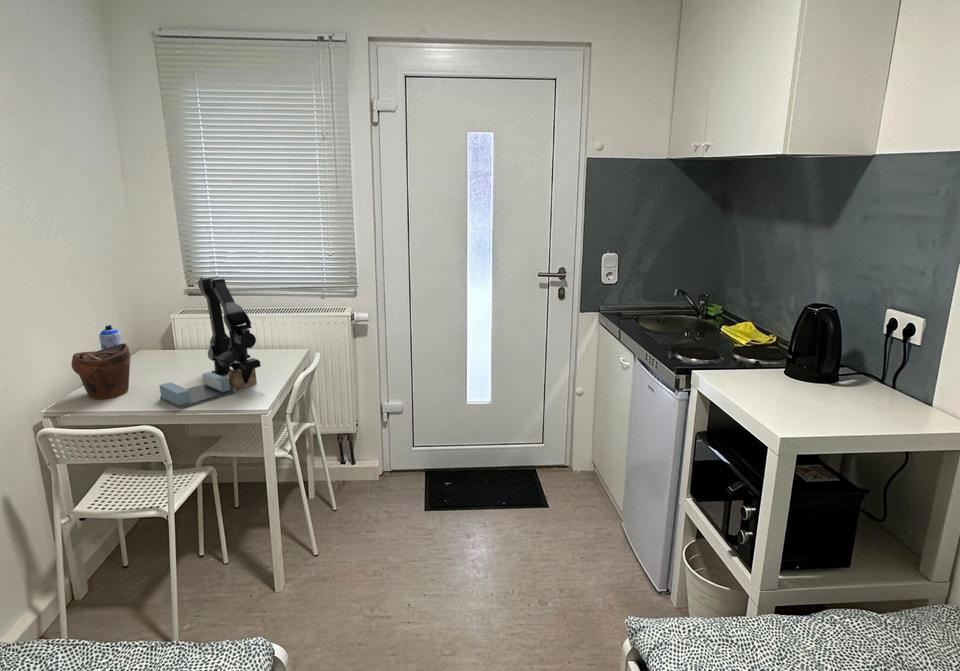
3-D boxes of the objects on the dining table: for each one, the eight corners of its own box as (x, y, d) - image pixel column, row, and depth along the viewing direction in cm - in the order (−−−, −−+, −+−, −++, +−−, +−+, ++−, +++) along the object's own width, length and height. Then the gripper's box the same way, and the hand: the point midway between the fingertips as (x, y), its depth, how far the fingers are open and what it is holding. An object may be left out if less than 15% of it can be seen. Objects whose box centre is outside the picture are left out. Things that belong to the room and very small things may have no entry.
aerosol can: (120, 375, 253) (112, 328, 248) (101, 376, 253) (92, 328, 248) (130, 369, 261) (123, 323, 256) (112, 370, 261) (104, 323, 256)
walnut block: (229, 386, 239) (227, 371, 238) (251, 380, 246) (249, 366, 244) (235, 389, 237) (233, 374, 235) (256, 382, 243) (255, 368, 242)
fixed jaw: (161, 396, 227) (159, 385, 226) (173, 393, 230) (171, 381, 229) (179, 405, 218) (177, 393, 217) (191, 402, 221) (189, 390, 220)
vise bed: (160, 398, 228) (159, 396, 227) (213, 384, 242) (212, 381, 242) (180, 408, 218) (180, 406, 217) (234, 393, 232) (234, 390, 232)
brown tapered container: (64, 400, 226) (56, 353, 222) (109, 383, 245) (102, 339, 240) (104, 406, 222) (96, 357, 217) (147, 387, 240) (141, 342, 236)
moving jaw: (203, 384, 238) (201, 374, 237) (211, 382, 241) (210, 371, 240) (221, 392, 230) (220, 381, 228) (230, 390, 232) (228, 379, 231)
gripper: (205, 343, 237) (210, 382, 241) (231, 352, 225) (236, 392, 229) (233, 337, 245) (237, 374, 249) (259, 345, 233) (263, 384, 238)
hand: (242, 381), depth 241 cm, fingers closed on walnut block, 4 cm apart
